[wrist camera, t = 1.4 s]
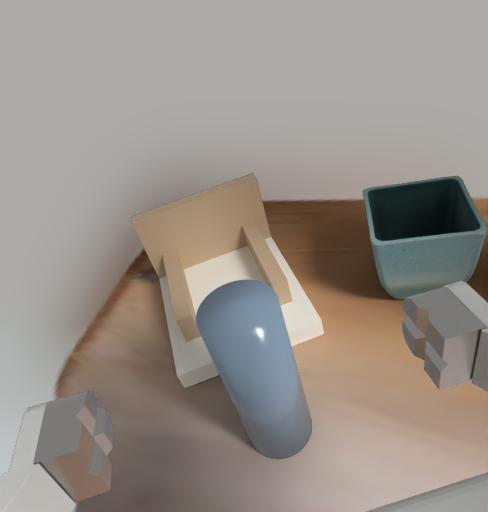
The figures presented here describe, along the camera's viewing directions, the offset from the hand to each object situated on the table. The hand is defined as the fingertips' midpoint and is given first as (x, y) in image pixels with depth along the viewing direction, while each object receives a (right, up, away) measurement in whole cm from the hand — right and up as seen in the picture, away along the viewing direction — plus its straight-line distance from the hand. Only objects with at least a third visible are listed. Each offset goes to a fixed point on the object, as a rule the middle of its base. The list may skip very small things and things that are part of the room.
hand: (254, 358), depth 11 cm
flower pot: (+17, 0, +32) cm, 36 cm away
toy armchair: (-1, -3, +35) cm, 35 cm away
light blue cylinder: (+3, -11, +23) cm, 26 cm away
